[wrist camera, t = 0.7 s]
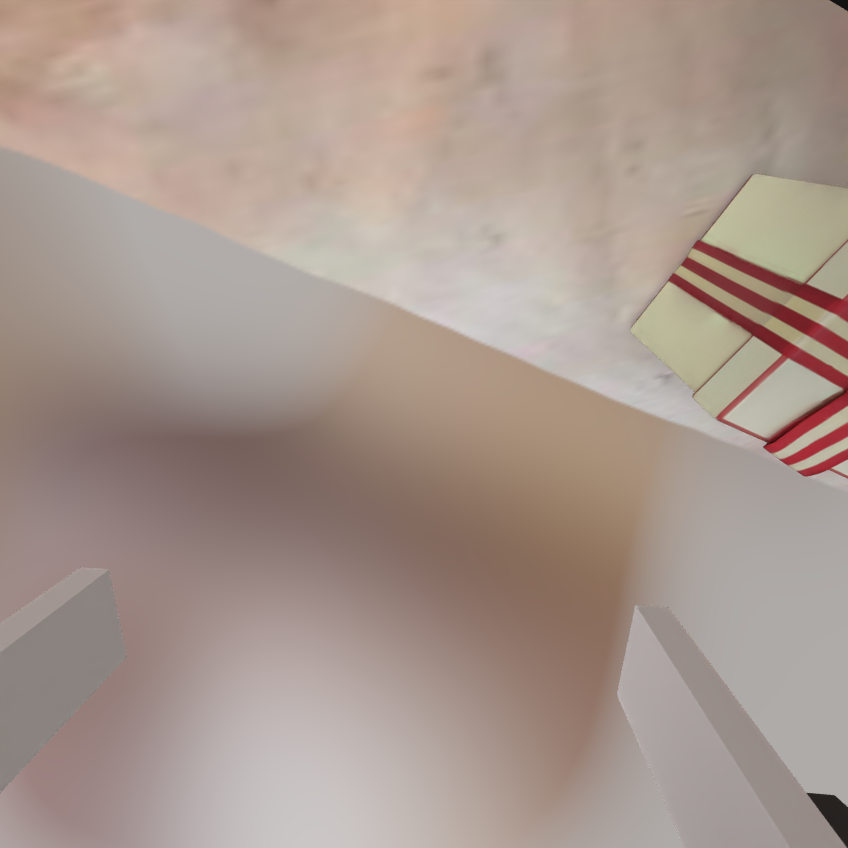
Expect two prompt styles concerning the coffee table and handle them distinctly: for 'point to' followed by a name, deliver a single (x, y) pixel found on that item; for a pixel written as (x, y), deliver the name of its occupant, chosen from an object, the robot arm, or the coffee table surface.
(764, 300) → the gift box
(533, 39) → the coffee table surface
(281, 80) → the coffee table surface
